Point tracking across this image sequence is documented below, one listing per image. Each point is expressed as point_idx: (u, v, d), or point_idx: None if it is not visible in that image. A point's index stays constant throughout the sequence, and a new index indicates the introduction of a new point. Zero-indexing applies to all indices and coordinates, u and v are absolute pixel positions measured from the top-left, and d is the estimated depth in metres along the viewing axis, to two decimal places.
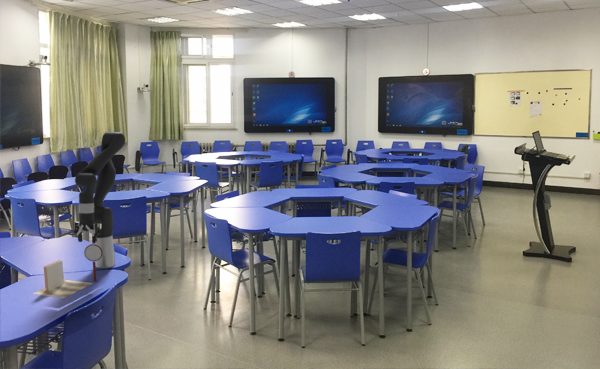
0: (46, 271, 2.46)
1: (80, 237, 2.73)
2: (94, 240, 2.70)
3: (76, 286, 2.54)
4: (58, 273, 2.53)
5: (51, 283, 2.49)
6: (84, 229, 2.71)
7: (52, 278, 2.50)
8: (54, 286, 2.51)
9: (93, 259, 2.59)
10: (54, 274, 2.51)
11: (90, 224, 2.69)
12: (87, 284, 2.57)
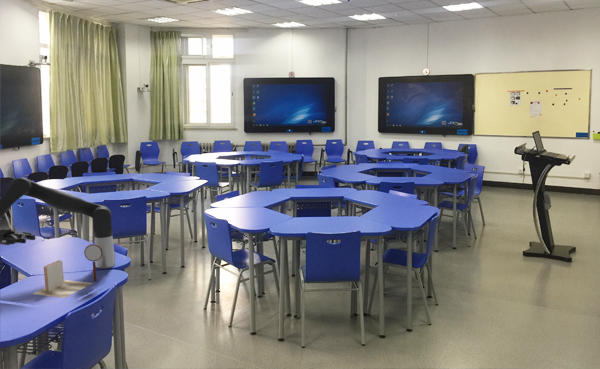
0: (46, 271, 2.46)
1: (30, 238, 2.56)
2: (21, 242, 2.50)
3: (76, 286, 2.54)
4: (58, 273, 2.53)
5: (51, 283, 2.49)
6: None
7: (52, 278, 2.50)
8: (54, 286, 2.51)
9: (93, 259, 2.59)
10: (54, 274, 2.51)
11: None
12: (87, 284, 2.57)
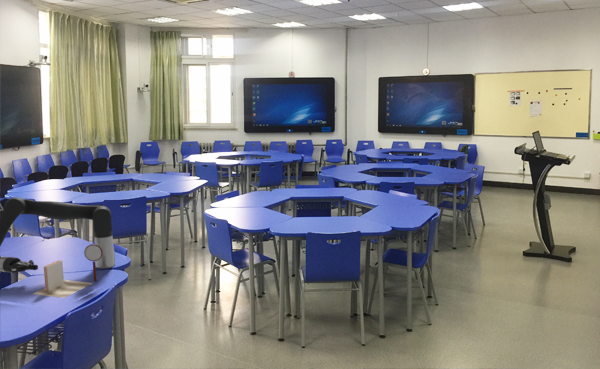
0: (46, 271, 2.46)
1: None
2: None
3: (76, 286, 2.54)
4: (58, 273, 2.53)
5: (51, 283, 2.49)
6: (21, 268, 2.56)
7: (52, 278, 2.50)
8: (54, 286, 2.51)
9: (93, 259, 2.59)
10: (54, 274, 2.51)
11: None
12: (87, 284, 2.57)
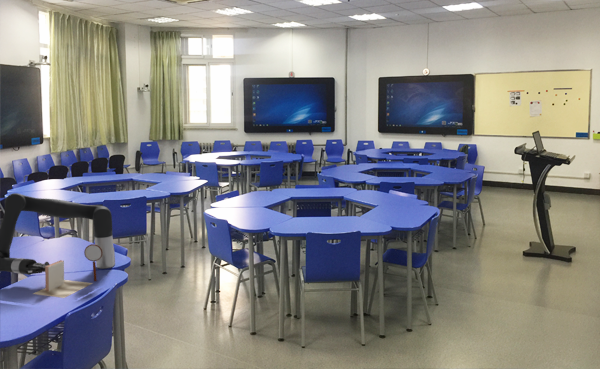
0: (47, 271, 2.46)
1: None
2: None
3: (76, 286, 2.54)
4: (59, 273, 2.53)
5: (51, 283, 2.49)
6: None
7: (53, 278, 2.49)
8: (54, 286, 2.51)
9: (93, 259, 2.59)
10: (55, 274, 2.50)
11: None
12: (87, 284, 2.57)
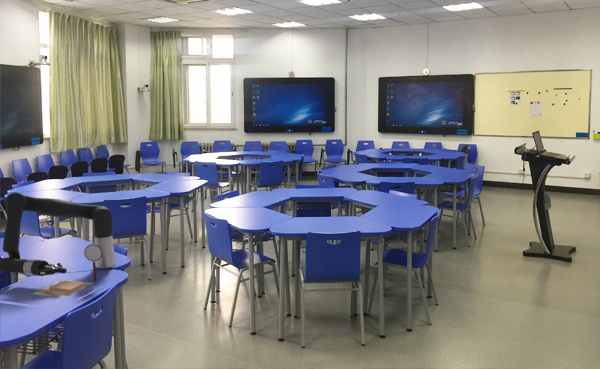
0: (66, 292, 2.45)
1: None
2: (61, 272, 2.49)
3: None
4: None
5: None
6: None
7: None
8: None
9: (93, 259, 2.59)
10: None
11: None
12: (87, 284, 2.57)
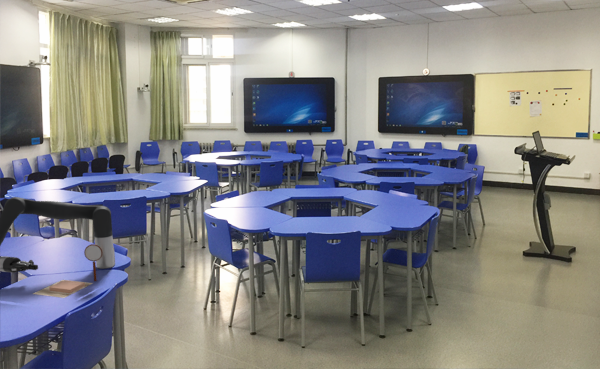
0: (66, 292, 2.45)
1: None
2: None
3: None
4: None
5: None
6: None
7: None
8: None
9: (93, 259, 2.59)
10: None
11: None
12: (87, 284, 2.57)
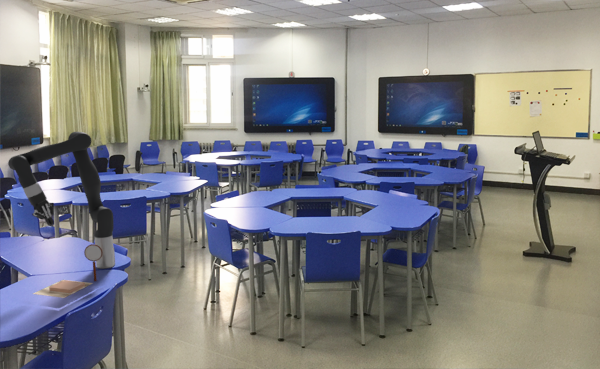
0: (66, 292, 2.45)
1: None
2: None
3: None
4: None
5: None
6: None
7: None
8: None
9: (93, 259, 2.59)
10: None
11: None
12: (87, 284, 2.57)
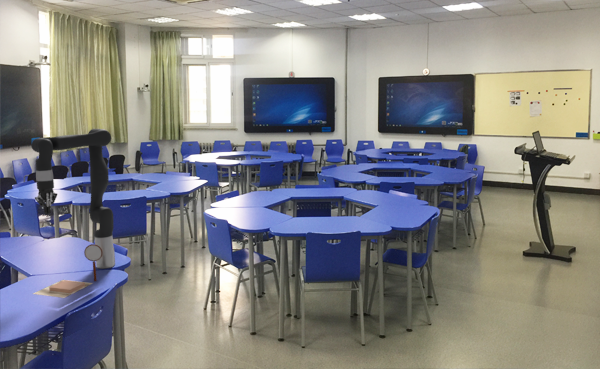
0: (66, 292, 2.45)
1: None
2: None
3: None
4: None
5: None
6: None
7: None
8: None
9: (93, 259, 2.59)
10: None
11: None
12: (87, 284, 2.57)
